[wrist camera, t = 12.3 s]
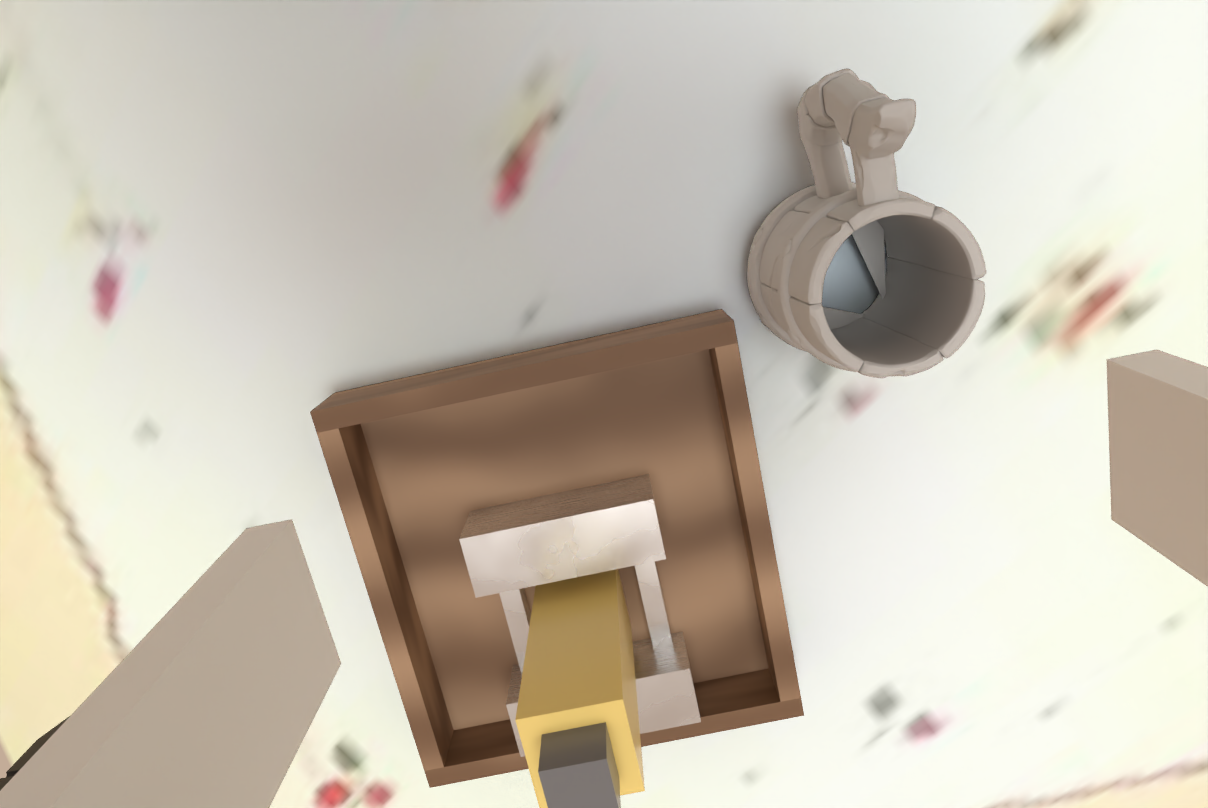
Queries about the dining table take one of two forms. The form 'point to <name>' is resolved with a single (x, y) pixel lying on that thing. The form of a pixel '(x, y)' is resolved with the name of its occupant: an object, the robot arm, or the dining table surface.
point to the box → (551, 465)
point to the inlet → (578, 548)
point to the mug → (865, 244)
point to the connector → (580, 695)
